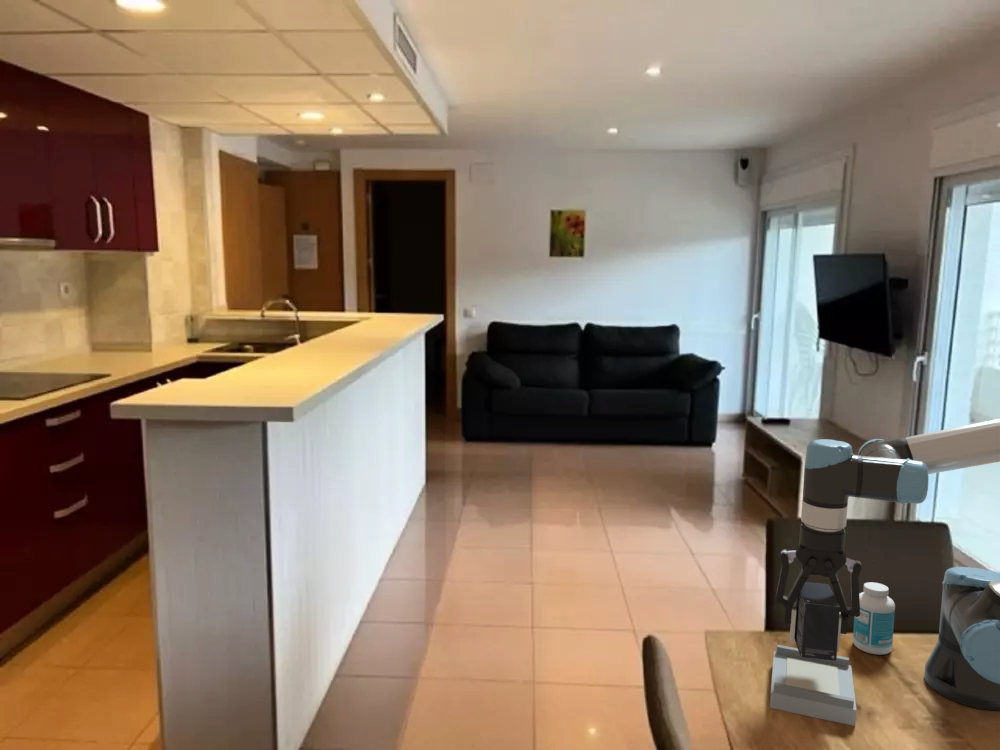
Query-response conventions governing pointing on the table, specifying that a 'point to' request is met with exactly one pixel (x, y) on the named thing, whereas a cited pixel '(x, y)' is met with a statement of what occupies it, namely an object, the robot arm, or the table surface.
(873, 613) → the pill bottle
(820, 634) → the small box
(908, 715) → the table surface
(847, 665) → the dock
